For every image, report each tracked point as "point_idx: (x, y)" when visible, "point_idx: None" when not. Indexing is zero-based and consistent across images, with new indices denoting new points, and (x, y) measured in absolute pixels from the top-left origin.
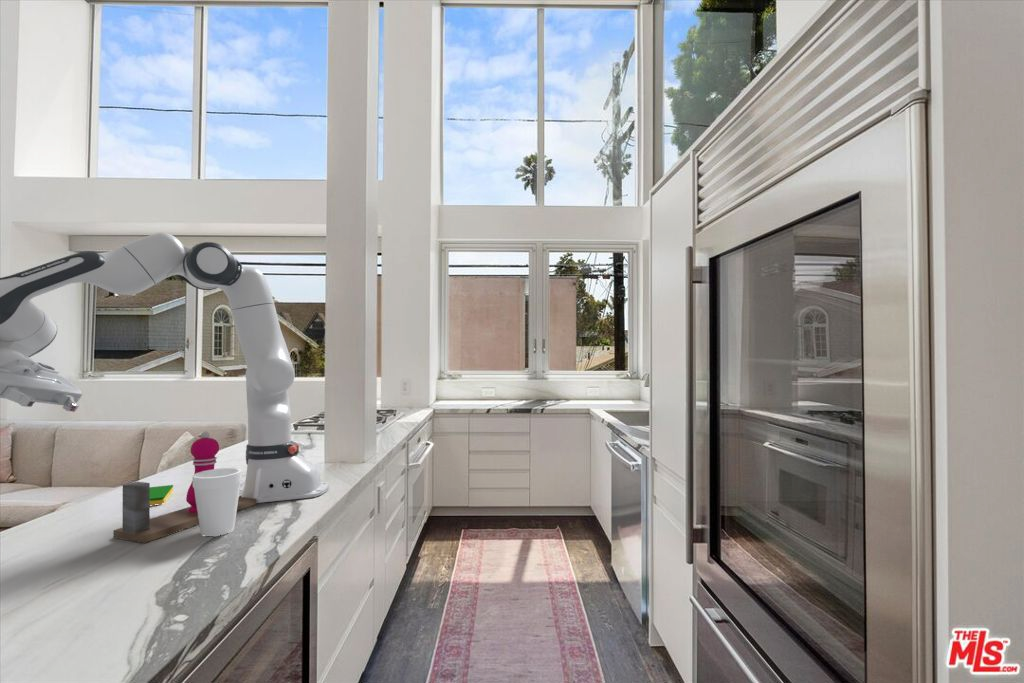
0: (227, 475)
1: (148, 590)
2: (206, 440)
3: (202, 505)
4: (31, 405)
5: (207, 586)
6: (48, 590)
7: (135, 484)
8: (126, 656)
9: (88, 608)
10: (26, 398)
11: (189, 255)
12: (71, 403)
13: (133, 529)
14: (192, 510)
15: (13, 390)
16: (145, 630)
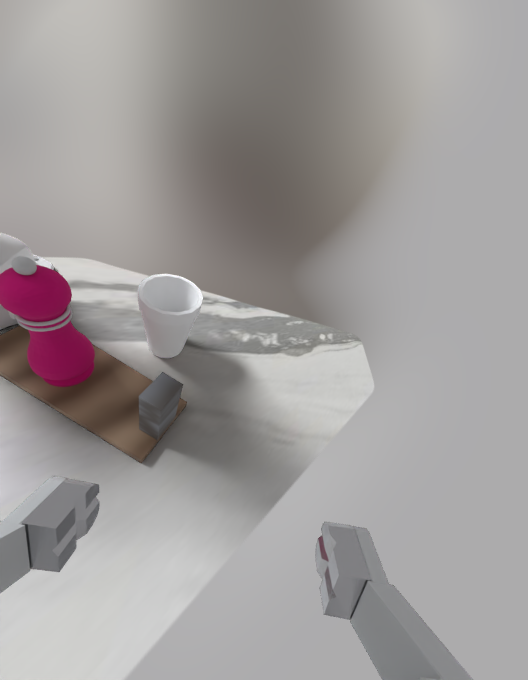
0: (193, 284)
1: (295, 361)
2: (50, 273)
3: (190, 330)
4: (321, 542)
5: (288, 332)
6: (297, 435)
7: (166, 389)
8: (353, 348)
9: (319, 386)
10: (371, 542)
11: None
12: (86, 492)
13: (173, 417)
14: (87, 375)
15: (456, 668)
16: (335, 348)
